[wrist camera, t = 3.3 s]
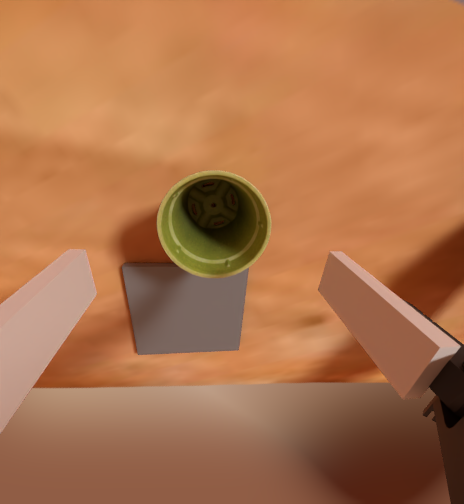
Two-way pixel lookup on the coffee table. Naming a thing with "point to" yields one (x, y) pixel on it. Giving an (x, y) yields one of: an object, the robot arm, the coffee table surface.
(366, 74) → the coffee table surface
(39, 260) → the coffee table surface
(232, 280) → the mat
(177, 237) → the plant pot
